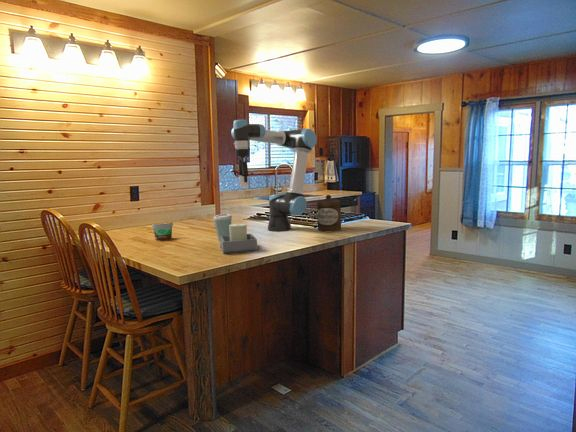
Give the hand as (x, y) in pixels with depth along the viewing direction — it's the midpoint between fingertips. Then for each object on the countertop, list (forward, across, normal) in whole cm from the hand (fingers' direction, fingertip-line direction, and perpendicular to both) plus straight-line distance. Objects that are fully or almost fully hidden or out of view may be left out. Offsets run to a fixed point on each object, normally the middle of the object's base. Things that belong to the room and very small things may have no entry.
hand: (244, 187), depth 228 cm
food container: (+30, -26, -46) cm, 61 cm away
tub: (+30, +18, -7) cm, 36 cm away
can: (+29, +18, -7) cm, 35 cm away
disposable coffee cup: (+30, -8, -12) cm, 34 cm away
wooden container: (+31, -15, +55) cm, 65 cm away
